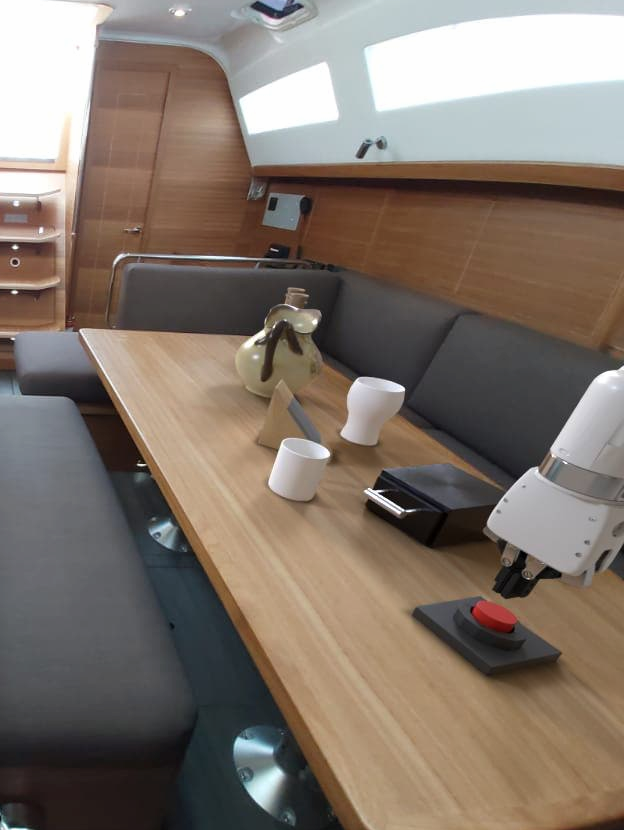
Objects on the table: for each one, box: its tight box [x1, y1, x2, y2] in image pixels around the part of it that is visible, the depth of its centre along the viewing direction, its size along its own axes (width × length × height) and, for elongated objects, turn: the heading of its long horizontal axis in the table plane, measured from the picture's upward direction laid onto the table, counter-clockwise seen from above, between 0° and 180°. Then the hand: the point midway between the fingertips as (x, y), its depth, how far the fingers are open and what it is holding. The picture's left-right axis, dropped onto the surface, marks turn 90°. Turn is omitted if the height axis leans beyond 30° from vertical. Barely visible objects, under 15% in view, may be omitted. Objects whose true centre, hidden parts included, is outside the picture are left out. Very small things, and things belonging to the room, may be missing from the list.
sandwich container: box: [257, 379, 333, 465], centre depth 115 cm, size 9×15×15 cm, turn 52°
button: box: [472, 600, 518, 633], centre depth 67 cm, size 4×4×2 cm
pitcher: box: [234, 303, 323, 399], centre depth 145 cm, size 22×24×25 cm
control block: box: [411, 595, 563, 677], centre depth 69 cm, size 12×10×4 cm
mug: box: [268, 438, 330, 502], centre depth 101 cm, size 12×8×10 cm
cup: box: [339, 376, 406, 446], centre depth 121 cm, size 11×11×15 cm
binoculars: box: [284, 287, 310, 309], centre depth 172 cm, size 21×10×25 cm, turn 155°
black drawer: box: [363, 475, 446, 546], centre depth 91 cm, size 20×12×7 cm, turn 102°
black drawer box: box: [379, 462, 508, 549], centre depth 92 cm, size 16×13×9 cm
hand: (506, 593), depth 66 cm, fingers closed
